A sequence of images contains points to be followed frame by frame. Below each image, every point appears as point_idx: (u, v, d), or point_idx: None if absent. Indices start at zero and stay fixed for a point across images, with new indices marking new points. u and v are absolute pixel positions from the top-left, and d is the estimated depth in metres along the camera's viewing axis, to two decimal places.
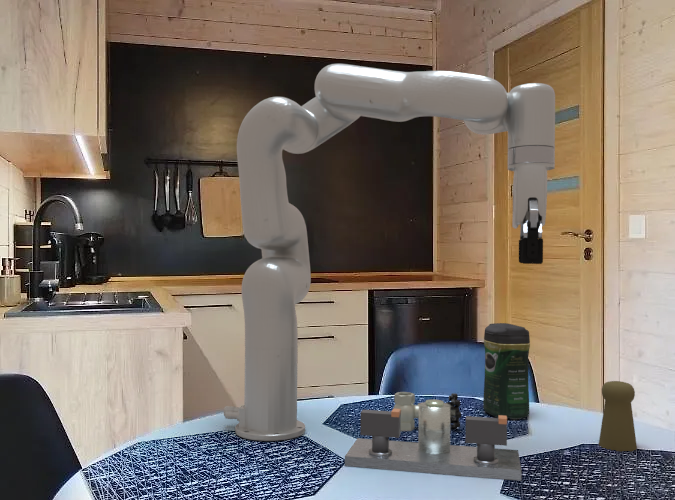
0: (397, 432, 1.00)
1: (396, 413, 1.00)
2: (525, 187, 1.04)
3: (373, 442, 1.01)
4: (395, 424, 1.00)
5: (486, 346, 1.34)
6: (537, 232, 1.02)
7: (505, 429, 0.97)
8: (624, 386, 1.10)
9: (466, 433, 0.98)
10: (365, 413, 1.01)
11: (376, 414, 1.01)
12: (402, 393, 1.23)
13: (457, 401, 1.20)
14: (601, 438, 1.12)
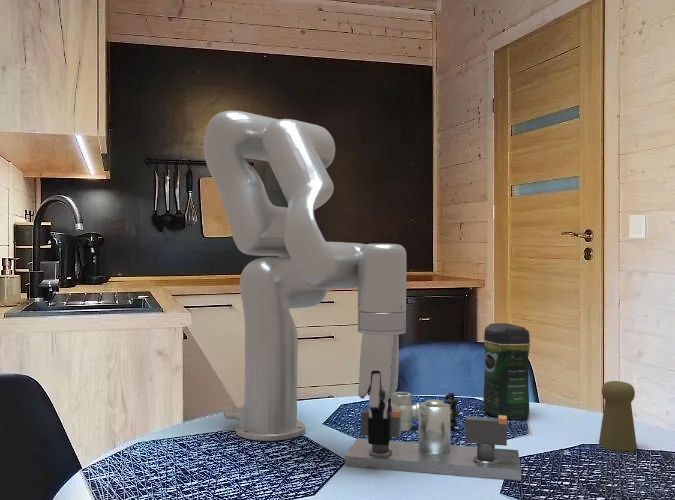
0: (397, 432, 1.00)
1: (396, 413, 1.00)
2: (368, 359, 0.97)
3: None
4: (395, 424, 1.00)
5: (486, 346, 1.34)
6: (381, 415, 0.98)
7: (505, 429, 0.97)
8: (624, 386, 1.10)
9: (466, 433, 0.98)
10: (365, 413, 1.01)
11: None
12: (399, 393, 1.23)
13: (454, 400, 1.21)
14: (601, 438, 1.12)
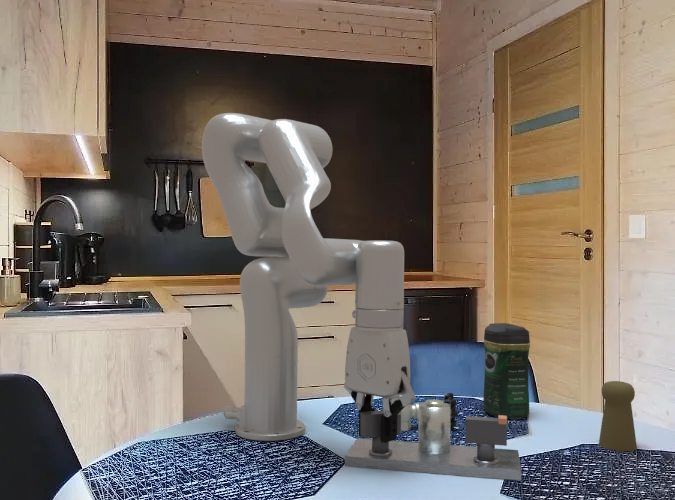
0: (399, 429, 1.02)
1: None
2: (399, 356, 0.97)
3: (376, 443, 1.01)
4: (397, 422, 1.02)
5: (486, 346, 1.34)
6: None
7: (505, 429, 0.97)
8: (624, 386, 1.10)
9: (466, 433, 0.98)
10: (369, 415, 1.00)
11: (380, 414, 1.01)
12: None
13: (453, 400, 1.21)
14: (601, 438, 1.12)
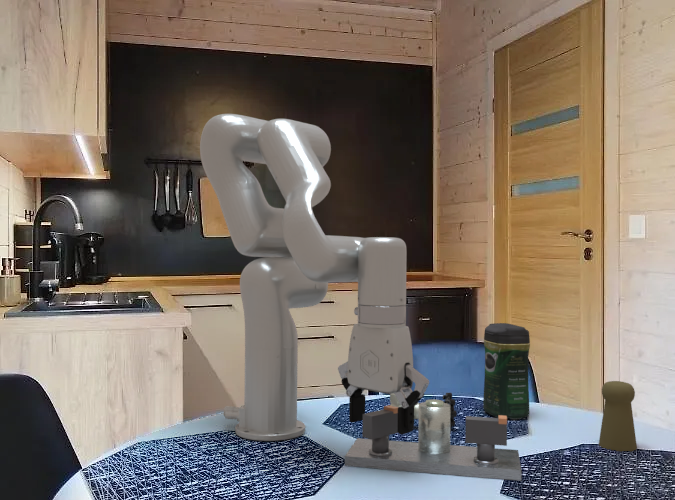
0: (397, 427, 1.03)
1: (396, 409, 1.03)
2: (402, 352, 0.98)
3: (380, 443, 1.00)
4: (396, 420, 1.03)
5: (486, 346, 1.34)
6: (418, 401, 0.98)
7: (505, 429, 0.97)
8: (624, 386, 1.10)
9: (466, 433, 0.98)
10: (375, 416, 1.00)
11: (383, 414, 1.01)
12: None
13: (452, 400, 1.21)
14: (601, 438, 1.12)
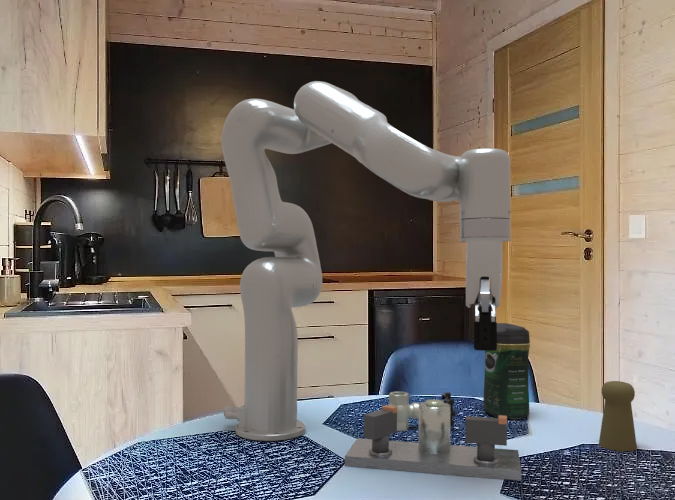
0: (396, 427, 1.03)
1: (395, 408, 1.03)
2: (476, 265, 0.94)
3: (381, 443, 1.00)
4: (395, 419, 1.03)
5: None
6: (489, 317, 0.92)
7: (505, 429, 0.97)
8: (624, 386, 1.10)
9: (466, 433, 0.98)
10: (377, 416, 0.99)
11: (383, 414, 1.01)
12: (396, 393, 1.23)
13: (451, 400, 1.21)
14: (601, 438, 1.12)
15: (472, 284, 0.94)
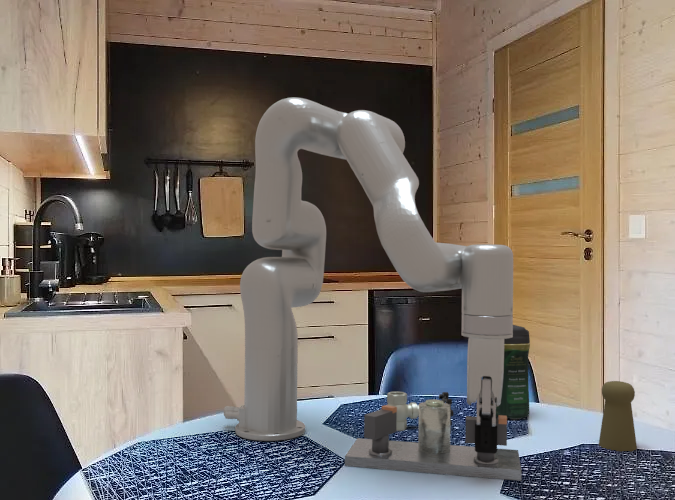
0: (395, 426, 1.03)
1: (395, 408, 1.03)
2: (478, 364, 0.94)
3: (381, 443, 1.00)
4: (394, 419, 1.03)
5: None
6: (490, 422, 0.95)
7: (505, 429, 0.97)
8: (624, 386, 1.10)
9: (466, 433, 0.98)
10: (377, 416, 0.99)
11: (384, 414, 1.01)
12: (394, 393, 1.23)
13: (449, 400, 1.21)
14: (601, 438, 1.12)
15: (473, 383, 0.94)
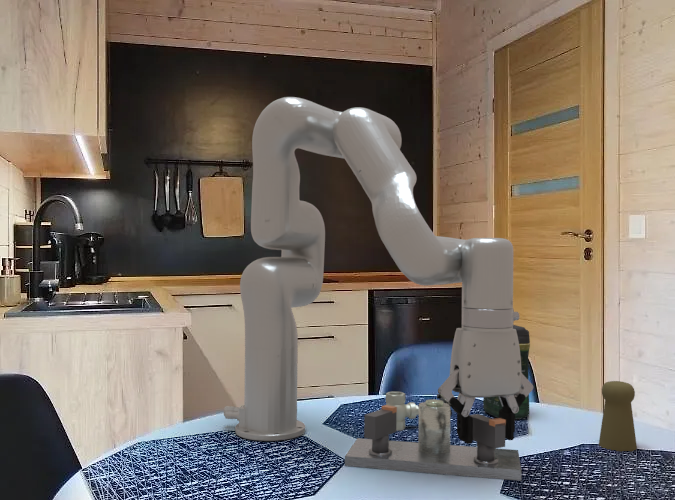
0: (395, 426, 1.03)
1: (395, 408, 1.03)
2: (453, 353, 0.98)
3: (381, 443, 1.00)
4: (394, 419, 1.03)
5: None
6: (456, 409, 0.96)
7: (494, 431, 0.95)
8: (624, 386, 1.10)
9: None
10: (377, 416, 0.99)
11: (384, 414, 1.01)
12: (392, 393, 1.23)
13: None
14: (601, 438, 1.12)
15: (450, 370, 0.98)
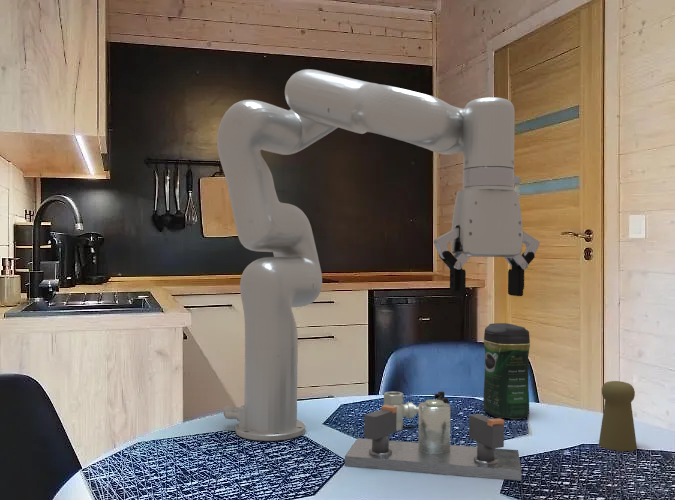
0: (395, 426, 1.03)
1: (395, 408, 1.03)
2: (454, 214, 0.98)
3: (381, 443, 1.00)
4: (394, 419, 1.03)
5: (486, 346, 1.34)
6: (449, 263, 0.96)
7: (491, 431, 0.95)
8: (624, 386, 1.10)
9: (469, 428, 1.00)
10: (377, 416, 0.99)
11: (384, 414, 1.01)
12: (390, 393, 1.23)
13: (445, 399, 1.22)
14: (601, 438, 1.12)
15: None
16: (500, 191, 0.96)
